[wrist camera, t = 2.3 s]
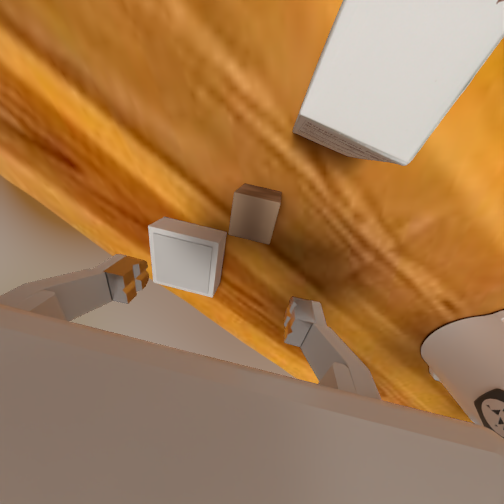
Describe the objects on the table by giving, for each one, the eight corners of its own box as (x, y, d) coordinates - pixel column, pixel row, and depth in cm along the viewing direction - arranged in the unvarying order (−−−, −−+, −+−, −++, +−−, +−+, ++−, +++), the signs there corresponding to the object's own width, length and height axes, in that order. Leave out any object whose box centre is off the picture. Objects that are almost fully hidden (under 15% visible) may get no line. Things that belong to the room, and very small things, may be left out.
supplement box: (325, 47, 18) (391, -120, 7) (394, 81, 18) (561, -25, 7) (289, 132, 21) (295, 113, 10) (347, 159, 22) (411, 168, 11)
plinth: (226, 231, 29) (218, 244, 25) (220, 282, 33) (212, 298, 30) (164, 216, 29) (146, 226, 25) (166, 268, 34) (152, 283, 30)
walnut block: (281, 191, 25) (280, 203, 19) (272, 226, 27) (269, 244, 22) (244, 183, 25) (234, 192, 20) (239, 218, 27) (228, 234, 22)
